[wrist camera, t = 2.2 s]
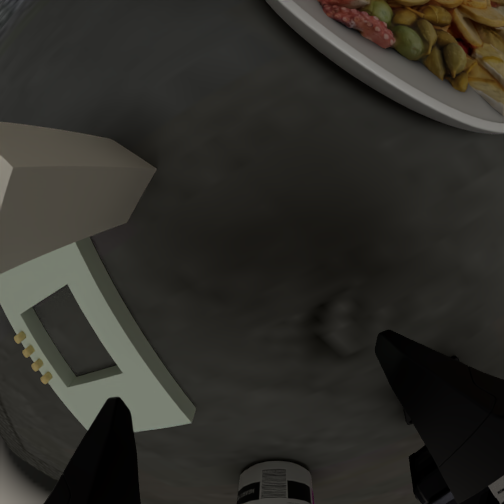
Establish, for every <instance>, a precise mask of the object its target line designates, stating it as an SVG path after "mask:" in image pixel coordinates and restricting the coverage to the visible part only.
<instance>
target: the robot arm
mask: <svg viewBox="0 0 504 504" xmlns="http://www.w3.org/2000/svg"><path fill="white" fill-rule="evenodd" d="M375 353H376V356H377V358H378V360H379V362H380V364H381V366H382V368H383V371H384V373H385V375H386V377H387V379H388V381H389V383H390V385H391V387H392V389H393V391H394V392H395V394H396V396H397V397H398V399H399V401H400V402H401V404H402V406H403V408H404V413H405V419H406V422H407V424H408V425H410V424H414V426H415V428H416V429H417V431H418V433H419V434H420V436H421V438H422V440H423V441H424V443H425V446H424V447H422V448H421V449H420V450H418V451H417V452H416V453H413V454H412V455H410V456H409V462H410V470H411V477H412V484H413V492H414V494H415V497H416V499H417V500H419V501H420V502H421V503H422V504H504V380H503V379H500V378H497V377H494V376H491V375H488V374H486V373H483V372H481V371H479V370H476V369H474V368H472V367H470V366H469V367H468V366H467V365H465V364H463V363H461V362H459V359H458V358H457V357H456V356H453V357H451V358H450V357H448V356H445V355H443V354H441V353H439V352H437V351H435V350H432V349H430V348H428V347H426V346H424V345H422V344H419V343H417V342H415V341H413V340H411V339H409V338H406V337H404V336H402V335H400V334H398V333H396V332H394V331H391V330H385V331H383V332H380V333H379V334H378V337H377V342H376V346H375ZM44 504H141V502H140V492H139V480H138V464H137V451H136V444H135V438H134V431H133V423H132V416H131V412H130V410H129V408H128V407H127V406H126V404H125V403H124V402H123V400H122V399H121V398H120V397H110V398H108V399H107V400H106V402H105V403H104V405H103V407H102V408H101V410H100V411H99V413H98V415H97V416H96V418H95V420H94V421H93V423H92V424H91V426H90V428H89V429H88V431H87V433H86V434H85V436H84V438H83V439H82V441H81V443H80V444H79V446H78V448H77V449H76V451H75V453H74V455H73V456H72V458H71V460H70V461H69V463H68V465H67V467H66V468H65V470H64V472H63V474H62V475H61V477H60V479H59V481H58V482H57V484H56V486H55V488H54V489H53V491H52V492H51V494H50V495H49V497H48V498H47V500H46V501H45V503H44Z"/></svg>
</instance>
